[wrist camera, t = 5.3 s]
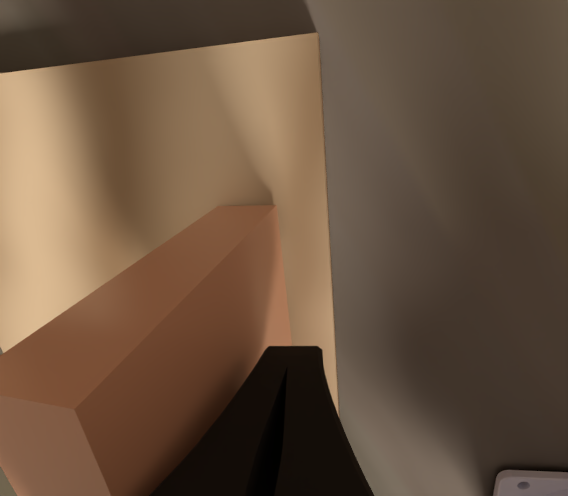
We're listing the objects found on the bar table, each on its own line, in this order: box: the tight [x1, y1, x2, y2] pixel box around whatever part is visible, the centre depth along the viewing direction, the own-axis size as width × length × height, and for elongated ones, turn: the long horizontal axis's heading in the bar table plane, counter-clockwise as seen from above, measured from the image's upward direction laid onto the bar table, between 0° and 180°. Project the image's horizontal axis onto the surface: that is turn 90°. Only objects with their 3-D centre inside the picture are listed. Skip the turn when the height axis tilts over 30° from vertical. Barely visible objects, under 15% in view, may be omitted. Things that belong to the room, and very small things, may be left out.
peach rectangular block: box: [0, 205, 292, 496], centre depth 9 cm, size 2×7×8 cm, turn 6°
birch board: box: [0, 32, 340, 419], centre depth 14 cm, size 14×16×2 cm
